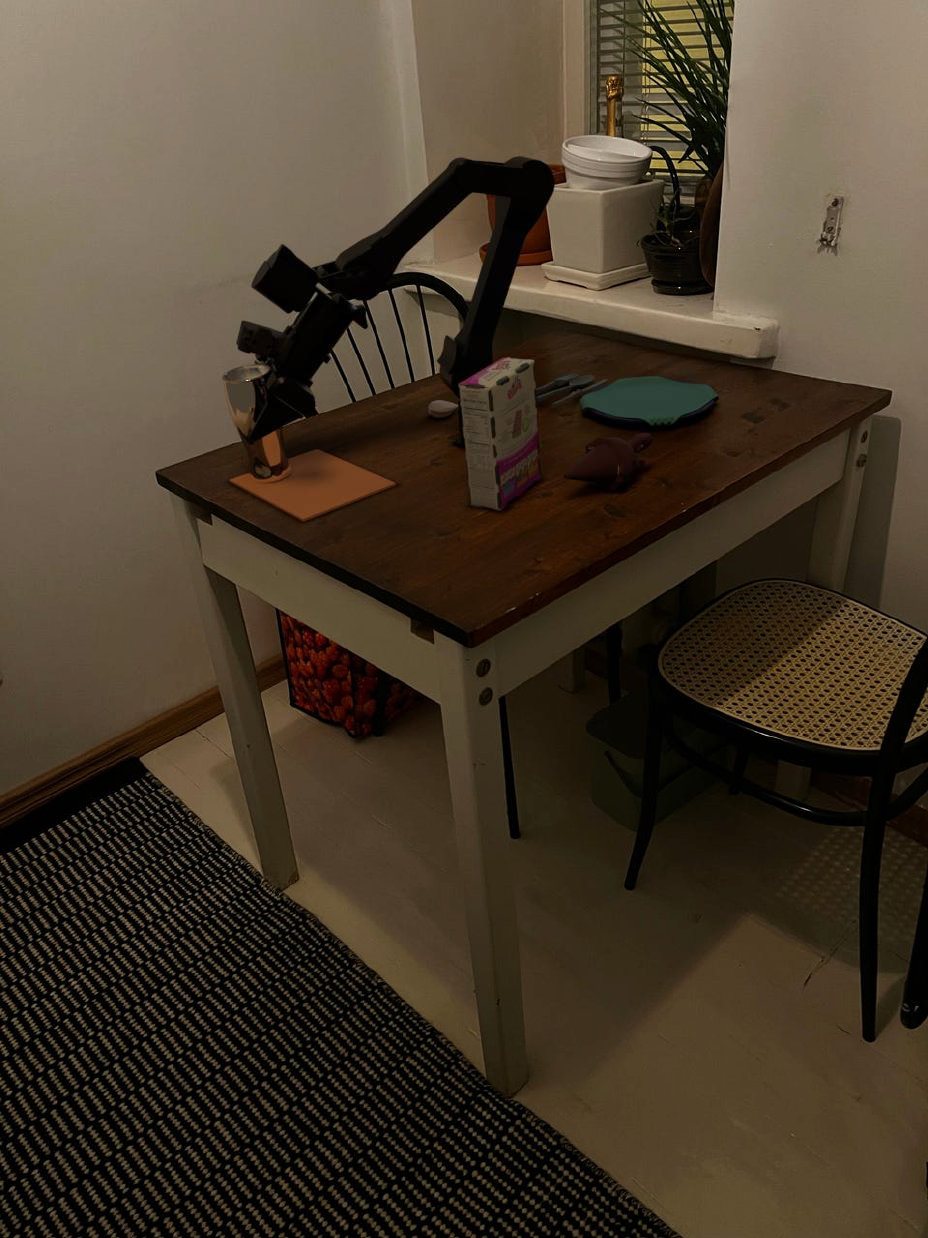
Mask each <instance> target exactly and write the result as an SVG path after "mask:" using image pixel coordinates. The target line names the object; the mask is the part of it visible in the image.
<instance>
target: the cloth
mask: <svg viewBox="0 0 928 1238" xmlns="http://www.w3.org/2000/svg"><path fill="white" fill-rule="evenodd" d="M288 459H289V461H290V463H291V465H292V472H291V474H290V475H289V476H287V477H286V478H284V479H281V480H279V481H275V482H270V483H258V482H255V481H253V480H252V479H251V478H250V472H248V473H243V474H242V475H239V476H236V477H233V478H230V479H229V480H228V481H229V483H230V484H232V485H234V486H236V487H238V488H239V489H242V490H243V491H245V492H247V493H249V494H251V495H252V496H255V497H256V498H258V499H260V500H262V501H263V502H265V503H267V504H269V505H271V506H273V507H275V508H277V509H279V510H280V511H283V512H284V513H286V514H288V515H290V516H291V517H293V518H295V519H297V520H298V521H301V522H302V523H305V522H307V521H309V520H312V519H314V518H317V517H319V516H322V515H324V514H328V513H331V512H333V511H334V510H337V509H340V508H342V507H345V506H348V505H350V504H353V503H355V502H359V501H360V500H363V499H365V498H368V497H370V496H373V495H376V494H378V493H380V492H384V491H386V490H389V489H391V488H393V487H395V486H397V482H395V481H392V480H390V479H389V478H385V477H383V476H381V475H379V474H376V473H374V472H372V471H369V470H367V469H366V468H362V467H360V466H358V465H356V464H354V463H351V462H348V461H346V460H344V459H341V458H339V457H337V456H335V455H332V454H330V453H328V452H325V451H323V450H320V449H318V448H316V449H313V450H310V451H308V452H305V453H301V454H299V455H296V456H293V457H290V458H288Z"/></svg>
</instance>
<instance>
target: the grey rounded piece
mask: <svg viewBox="0 0 928 1238" xmlns="http://www.w3.org/2000/svg"><path fill="white" fill-rule="evenodd" d="M427 408H428V415H429V416H430V417H432V418H435V419H443V418H446V417H448V416H449V415H451V414H452V413H453V412H454V411H456V409H457V408H459V406H458V403H457V404H456V403H454V402H451V401H447V400H442V399H441V400H439V399H437V400H433V401H432V402H430V403H429V404H428V405H427Z"/></svg>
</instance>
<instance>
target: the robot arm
mask: <svg viewBox="0 0 928 1238" xmlns="http://www.w3.org/2000/svg"><path fill="white" fill-rule="evenodd" d="M552 171H553V170H552V169H551V168H550V166H549V165H548V164H547V163H546V162H544V161H542V160H540V159H535V158H531V157H527V156H521V155H518V156H513V157H511V158H509V159H508V160H506V161H505V162H499V161H487V160H475V159H470V158H467V157H464V156H463V157H462V156H461V157H455V158H454V159H452V160H451V161H450V162H449V164H448V165H447V167H446V168H445V169H444V170H443V171H442V172H441V173H439V175H438V176H437V177H436V178H435V179H433V181H431V182H430V184H428V185H427V186H426V187H425V188H424V189H423V190H422V191H421V192H420V193H419V194H417V195H416V197H414V199H412V200H411V201H410V202H409V203H408V204H407V205H406V206H405V207H404V208H403V209H402V210H401V211H400V212H398V213H397V214H396V215H395V216H394V217H393V218H392V219H391V220H390V221H389V222H388V223H387V224H386V225H384V227H382V228H381V229H379V230H377V231H376V232H374V233H372V234H370V235H368V236H366V237H364V238H361V239H360V240H358V241H357V242H355V243H354V244H352V245H351V246H349V247H347V248H346V249H345V250H342V252H340V253H339V254H338V256H337V257H336V258H335V260H332V261H328V262H325V263H323V264H319V265H315V266H312V267H311V266H310V265H309V264H307V263H306V262H305V261H303V259H301V258H299V256H298V255H296V254H295V253H294V251H293V250H292V249H291V248H289V247H288V246H287V245H286V244H284V243H281V244H279V247H278V248H277V249H276V250H275V251H274V252H273V253H272V254H271V255H269V257H268V258H267V260H264V261H263V262H262V264H261V265H260V267H259V268H258V270H257V271H256V274H255V275H254V277H253V279H252V282H251V286H250V287H251V288H252V289H253V290H254V291H256V292H257V293H259V294H260V295H261V296H262V297H264V298H266V299H267V300H268V301H269V302H271V303H272V304H273V305H274V306H276V307H277V308H278V309H280V310H281V311H283V312H284V313H285V314H287V315H289V314H291V313H292V312H295V313H301V312H302V311H304V312H303V313H302V315H301V316H300V317H299V319H298V320H297V322H296V323H295V325H294V324H290V325H287V326H286V327H285V329H284V330H283V331H280V330H278V329H274V328H271V327H269V326H265V325H262V324H258V323H254V322H252V321H248V320H241V322H240V326H239V331H238V335H237V339H236V343H235V344H236V345H237V350H238V351H239V352H242V353H245V354H247V355H248V354H249V355H250V354H253V355H254V357H255V359H254V363H253V364H263V365H267V366H269V367H270V368H271V372H272V374H271V375H270V377H269V378H268V381H267V383H266V386H267V387H266V386H263V388H264V393H265V398H266V402H265V405H264V407H263V409H262V411H261V413H260V415H259V417H258V419H257V421H256V423H255V425H254V427H253V429H252V431H251V434H250V438H252V439H253V440H255V441H258V440H259V439H261V438H263V437H265V436H267V435H268V434H270V433H272V432H274V431H276V430H277V429H279V428H281V427H282V428H284V427H285V426H287V425H289V424H292V423H293V422H295V421H297V420H299V419H300V420H302V419H304V417H306V418H309V416H310V415H311V414H312V412H313V411H314V409H315V408H316V407H317V404H316V396H315V394H314V392H313V391H312V389H311V387H312V386H313V384H314V381H313V377H314V376H315V374H316V373H317V372H318V370H319V369H320V367H321V366H322V365H323V363H325V364H326V365H328V363H329V362H330V361H331V359H332V357H331V355H330V353H331V352H332V351H333V349H334V348H335V347H336V345H337V344H338V342H339V341H340V340H341V338H342V337H343V336H344V334H345V333H346V331H347V330H348V329H349V328H350V326H351V324H352V323H353V322H354V323H355V324H357V325H358V327H360V328H362V329H363V330H367V329H368V328H369V324H368V320H367V310H368V309H367V307H366V306H365V305H364V304H363V303H361V304H357V305H354V304H353V303H352V302H351V301H349V300H348V299H347V298H346V297H344V296H343V295H342V294H346V295H347V296H348V297H349V298H351V299H353V300H355V301H358V302H360V301H362V302H368V301H371V300H373V299H374V298H376V297H377V296H378V295H379V294H380V293H381V292H382V290H383V289H384V288H385V286H386V285H387V283H388V282H389V281H390V280H391V278H392V277H393V276H394V274H395V272H396V270H397V268H398V267H399V265H400V263H401V262H402V260H403V258H405V256H406V255H407V254H408V253H409V252H410V251H411V250H412V249H413V248H414V247H415V246H416V245H417V244H418V243H420V242H421V240H423V239H424V238H425V237H426V236H427V235H428V234H429V233H430V232H432V230H434V228H436V226H437V225H439V224H440V223H441V222H442V221H443V220H444V219H445V218H446V217H447V216H448V215H450V213H452V212H453V211H454V210H455V209H456V208H457V207H458V206H459V205H460V204H461V203H462V202H463V201H465V200H466V199H467V198H468V197H469V196H470V195H471V194H481V195H490V196H494V224H493V230H492V232H491V237H490V240H489V242H488V245H487V249H486V253H485V254H484V258H483V262H482V265H481V268H480V271H479V275H478V278H477V281H476V284H475V286H474V287H475V288H474V291H473V293H472V296H471V300H470V303H469V307H468V310H467V313H466V317H465V319H464V323H463V325H462V328H461V329H460V330H459V332H458V333H457V334H456V335H455V337H452V336H450V335H448V334H446V335H445V336H444V338H443V339H444V340H443V346H442V351H441V353H440V356H439V357H438V358H437V359H436V363H437V364H438V365H439V369H438V372H439V376H440V379H441V382H442V383H443V384H444V385H445V386H446V387H447V388H448V389H449V390H450V391H451V392H452V393H453V395H454V396H455V397H457V398H458V399H459V400H458V401H457V405H458V410H457V415H458V427H459V436H460V437H458V438H454V439H453V440H452V442H453V445H456V446H459V447H462V448H464V449H465V443H464V434H463V426H462V415H461V405H460V396H459V386H458V384H460V383H461V382H463V381H465V380H466V379H468V378H470V377H471V376H473V375H475V374H476V373H478V372H480V371H481V370H483V369H485V368H486V367H488V366H490V365H492V364H493V363H494V337H495V334H496V330H497V328H498V324H499V322H500V318H501V315H502V312H503V309H504V306H505V303H506V300H507V297H508V294H509V291H510V288H511V285H512V281H513V278H514V276H515V272H516V269H517V266H518V263H519V260H520V257H521V254H522V251H523V248H524V244H525V242H526V239H527V236H528V235H529V233H530V232H531V231H532V229H533V228H534V227H535V225H536V224H537V223H538V221H540V219H541V218H542V217H543V214H544V212H545V210H546V208H547V206H548V204H549V202H550V200H551V198H552V197H553V194H554V191H555V187H556V186H555V185H556V179H555V176H554V174H553V172H552ZM318 284H319V285H321V286H322V287H323V288H324V289H326V291H329V292H330V293H335V294H333V296H331V295H330V294H328V293H327V292H325V291H324V290H322V289H321V288H320V287H319V286H317V285H318ZM315 294H316V295H315ZM314 295H315V296H314ZM305 308H306V309H305Z"/></svg>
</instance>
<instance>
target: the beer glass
mask: <svg viewBox="0 0 928 1238" xmlns="http://www.w3.org/2000/svg"><path fill="white" fill-rule="evenodd" d="M271 374H272V372H271V368H270V367H269V366H267V365H263V364H255V363H252V364H251V363H250V364H245V365H240V366H237V367H234V368H232V369H229V370H227V371H226V372H224V373H223V374H222V376H221V379H222V383H223V387H224V393H225V399H226V403H227V407H228V411H229V414H230V417H231V419H232V422H233V426H234V427H235V429H236V431H237V433H238V436H239V438H240V440H241V442H242V444H243V447H244V449H245V451H246V455H247V459H248V468H249V469H248V471H249V473H250V478H251V479H252V480H253V481H255V482H258V483H270V482H275V481H279V480H281V479H284V478H286V477H287V476H289V475H290V474H291V472H292V465H291V463H290V461H289V459H290V458H289V456H288V454H287V450H286V447H285V443H284V442H285V441H284V431H283V430H284V429H283V427H281V428H279V429H277V430H276V431H274V432H272V433H270V434H268V435H267V436H265V437H263V438H261V439H259V440H258V441H255V440H253V439H252V438H250V434H251V431H252V429H253V427H254V425H255V423H256V421H257V419H258V417H259V415H260V413H261V411H262V409H263V407H264V405H265V402H266V398H265V393H264V388H263V386H266V383H267V381H268V378H269V377H270V375H271ZM266 387H267V386H266Z"/></svg>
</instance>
